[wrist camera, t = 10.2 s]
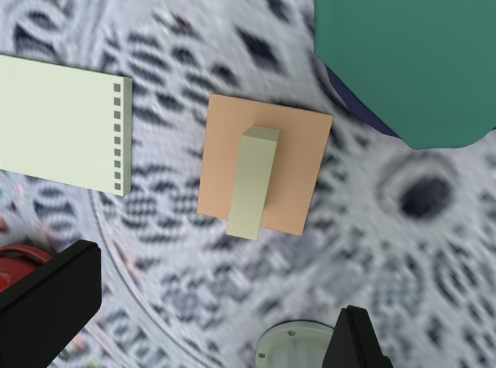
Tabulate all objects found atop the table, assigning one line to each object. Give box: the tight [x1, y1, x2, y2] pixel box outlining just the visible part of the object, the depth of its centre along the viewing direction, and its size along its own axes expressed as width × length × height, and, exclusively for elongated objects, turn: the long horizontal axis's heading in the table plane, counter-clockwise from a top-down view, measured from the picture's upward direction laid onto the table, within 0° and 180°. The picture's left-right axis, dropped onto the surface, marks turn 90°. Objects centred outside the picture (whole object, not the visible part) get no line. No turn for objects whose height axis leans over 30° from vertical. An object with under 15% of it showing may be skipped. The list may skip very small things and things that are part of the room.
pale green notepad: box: [0, 54, 132, 196], centre depth 28 cm, size 18×12×2 cm, turn 80°
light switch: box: [197, 93, 334, 241], centre depth 23 cm, size 11×12×7 cm
